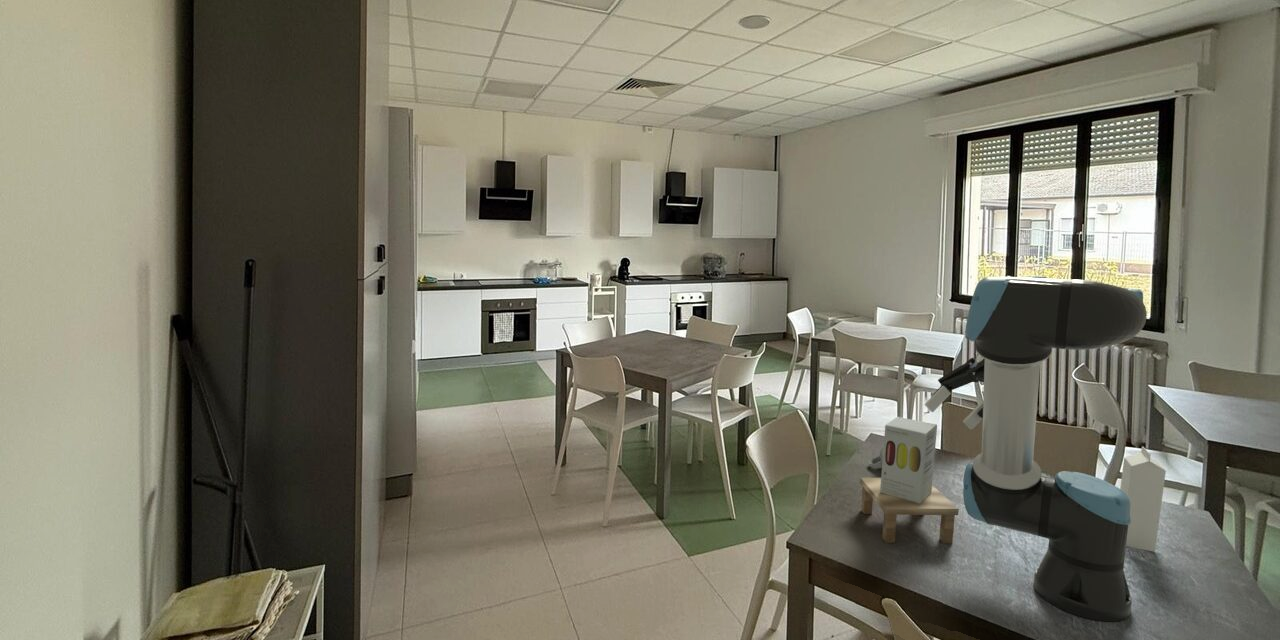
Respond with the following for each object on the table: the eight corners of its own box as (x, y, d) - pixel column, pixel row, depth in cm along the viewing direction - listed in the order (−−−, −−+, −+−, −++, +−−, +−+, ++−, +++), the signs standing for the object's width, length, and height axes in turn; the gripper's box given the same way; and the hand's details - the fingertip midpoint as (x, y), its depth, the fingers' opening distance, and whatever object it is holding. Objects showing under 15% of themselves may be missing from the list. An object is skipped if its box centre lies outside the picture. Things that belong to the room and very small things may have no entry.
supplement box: (878, 493, 142) (883, 424, 140) (891, 480, 149) (895, 415, 147) (921, 504, 136) (926, 433, 133) (933, 491, 143) (938, 423, 140)
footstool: (955, 544, 135) (958, 508, 134) (884, 543, 135) (886, 508, 134) (921, 510, 152) (924, 478, 151) (858, 509, 152) (860, 477, 151)
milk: (1121, 546, 135) (1132, 452, 132) (1114, 534, 140) (1124, 443, 137) (1155, 552, 132) (1168, 456, 129) (1147, 539, 137) (1158, 447, 134)
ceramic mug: (903, 465, 181) (905, 440, 180) (909, 475, 173) (910, 450, 172) (866, 462, 184) (867, 438, 183) (870, 473, 176) (871, 447, 175)
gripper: (1062, 374, 130) (995, 444, 130) (979, 352, 155) (923, 411, 154) (1043, 351, 129) (975, 422, 128) (962, 332, 153) (905, 392, 153)
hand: (946, 416), depth 141 cm, fingers open, 13 cm apart
